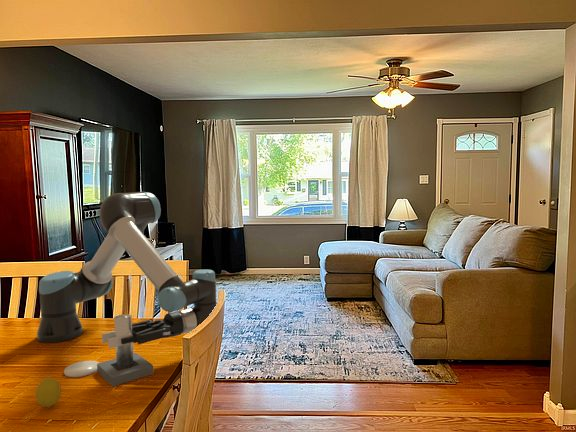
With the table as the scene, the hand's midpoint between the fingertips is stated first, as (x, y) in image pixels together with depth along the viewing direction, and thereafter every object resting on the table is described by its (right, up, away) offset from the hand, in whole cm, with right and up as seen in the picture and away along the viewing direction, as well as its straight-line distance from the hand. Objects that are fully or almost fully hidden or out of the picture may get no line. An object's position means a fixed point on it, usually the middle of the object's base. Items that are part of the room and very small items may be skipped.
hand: (105, 340), depth 127 cm
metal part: (+4, -8, +4) cm, 10 cm away
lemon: (-8, -13, -15) cm, 21 cm away
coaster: (-10, -11, +7) cm, 16 cm away
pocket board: (+4, -11, +5) cm, 12 cm away
